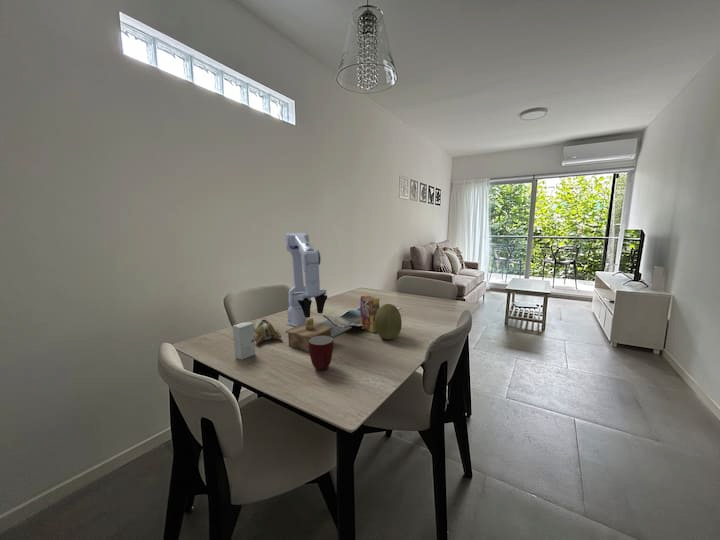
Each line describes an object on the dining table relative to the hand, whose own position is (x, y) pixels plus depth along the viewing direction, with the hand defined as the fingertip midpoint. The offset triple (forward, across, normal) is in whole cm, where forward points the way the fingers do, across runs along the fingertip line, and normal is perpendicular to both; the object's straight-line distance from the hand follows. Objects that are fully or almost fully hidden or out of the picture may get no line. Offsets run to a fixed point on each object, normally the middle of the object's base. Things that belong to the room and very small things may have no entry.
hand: (313, 315), depth 116 cm
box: (+12, 0, +2) cm, 12 cm away
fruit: (+13, +22, -22) cm, 33 cm away
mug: (+14, -14, -15) cm, 25 cm away
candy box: (+12, +27, -10) cm, 31 cm away
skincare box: (+12, -21, +16) cm, 29 cm away
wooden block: (+6, 0, +2) cm, 7 cm away
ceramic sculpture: (+11, -6, +22) cm, 26 cm away
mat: (+11, +18, +6) cm, 22 cm away
